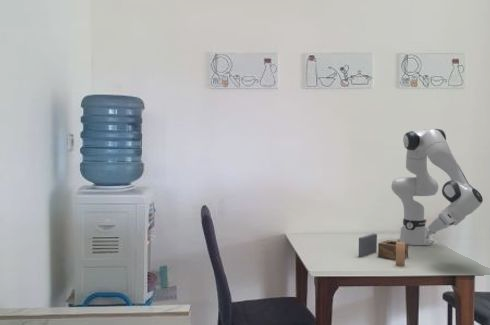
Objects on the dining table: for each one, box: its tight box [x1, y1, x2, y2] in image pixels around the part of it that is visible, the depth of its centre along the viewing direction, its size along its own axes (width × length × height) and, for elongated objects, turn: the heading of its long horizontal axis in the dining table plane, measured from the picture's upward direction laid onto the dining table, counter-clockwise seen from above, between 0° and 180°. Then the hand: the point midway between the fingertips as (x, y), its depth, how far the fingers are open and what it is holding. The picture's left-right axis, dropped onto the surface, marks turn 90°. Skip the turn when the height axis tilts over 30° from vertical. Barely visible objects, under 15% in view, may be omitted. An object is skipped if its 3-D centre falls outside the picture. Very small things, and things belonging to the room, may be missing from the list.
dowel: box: [395, 241, 406, 267], centre depth 207 cm, size 4×4×11 cm
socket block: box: [377, 239, 409, 261], centre depth 222 cm, size 11×11×7 cm
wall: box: [358, 233, 378, 258], centre depth 227 cm, size 16×2×10 cm, turn 137°
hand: (430, 233), depth 212 cm, fingers open, 4 cm apart
